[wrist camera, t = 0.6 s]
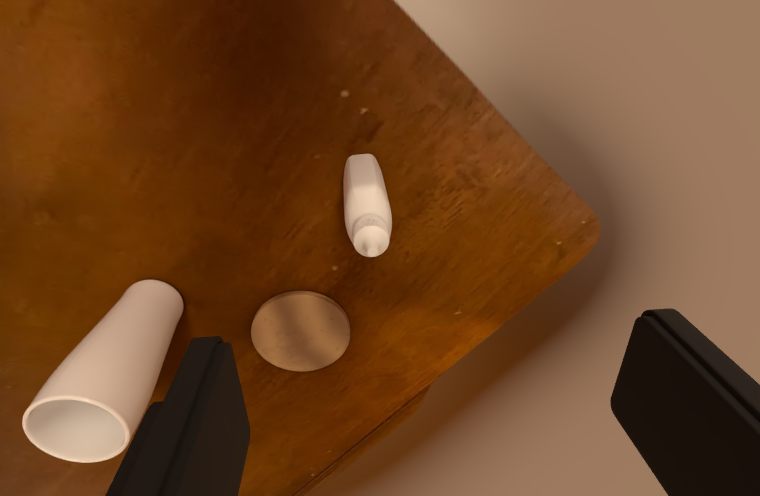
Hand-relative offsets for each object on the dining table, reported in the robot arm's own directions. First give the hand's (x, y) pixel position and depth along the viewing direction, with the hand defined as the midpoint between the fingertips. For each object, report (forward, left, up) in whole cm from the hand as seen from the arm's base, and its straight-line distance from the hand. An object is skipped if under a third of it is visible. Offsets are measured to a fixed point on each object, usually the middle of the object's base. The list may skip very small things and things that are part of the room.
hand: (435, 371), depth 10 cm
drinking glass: (+27, +4, -29) cm, 40 cm away
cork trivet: (+18, +15, -29) cm, 37 cm away
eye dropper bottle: (+4, +5, -29) cm, 30 cm away
